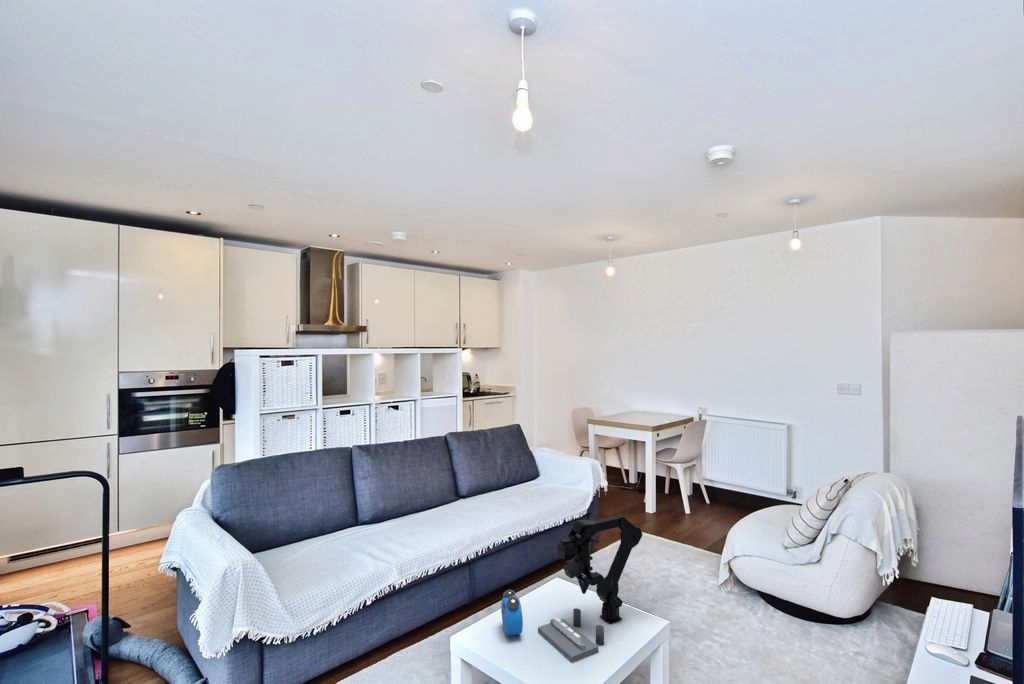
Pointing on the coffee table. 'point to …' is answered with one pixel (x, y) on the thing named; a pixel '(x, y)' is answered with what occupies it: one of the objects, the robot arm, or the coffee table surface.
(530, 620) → the coffee table surface
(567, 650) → the breaker panel
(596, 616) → the coffee table surface
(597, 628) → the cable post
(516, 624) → the alarm clock
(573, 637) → the breaker paddles
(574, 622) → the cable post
